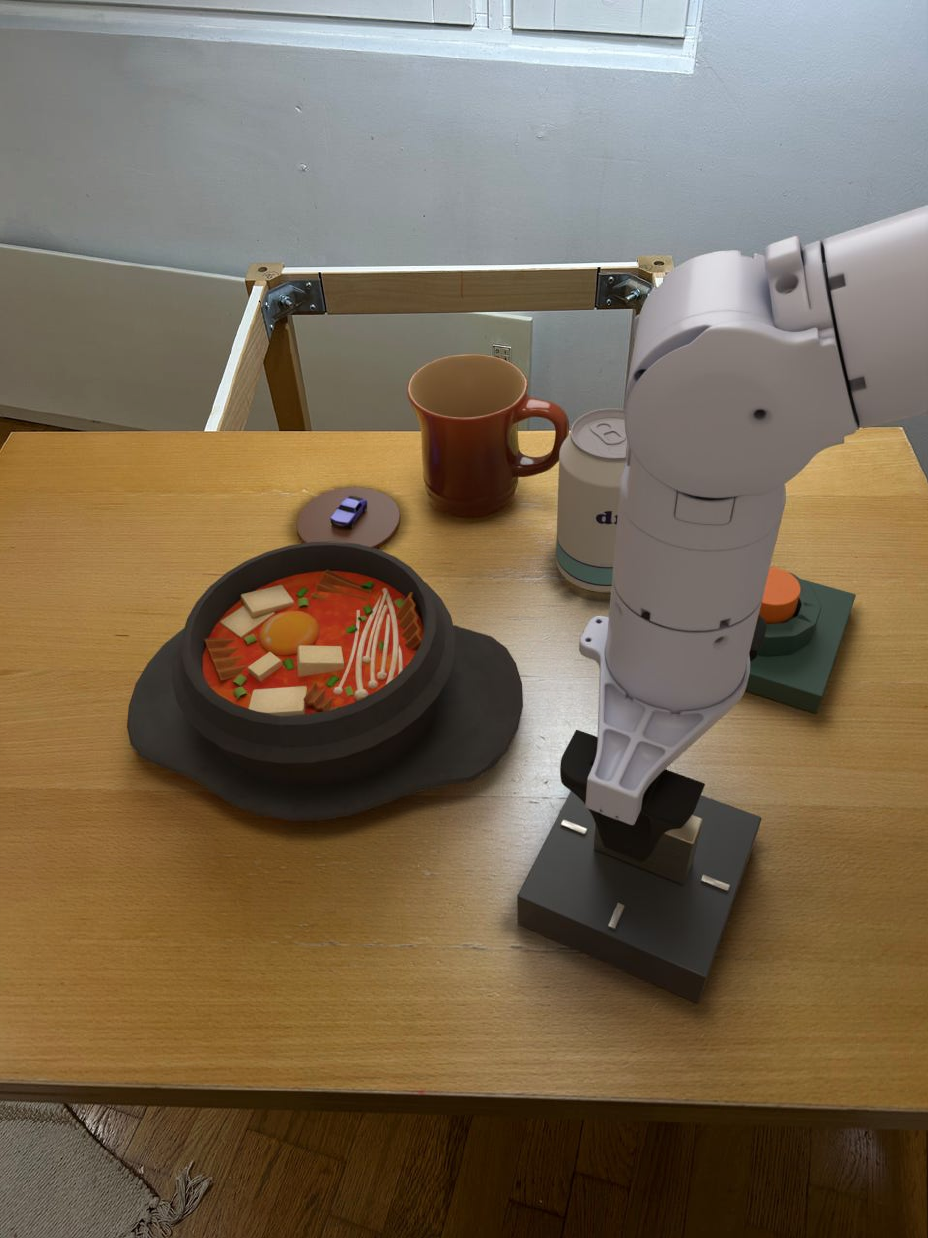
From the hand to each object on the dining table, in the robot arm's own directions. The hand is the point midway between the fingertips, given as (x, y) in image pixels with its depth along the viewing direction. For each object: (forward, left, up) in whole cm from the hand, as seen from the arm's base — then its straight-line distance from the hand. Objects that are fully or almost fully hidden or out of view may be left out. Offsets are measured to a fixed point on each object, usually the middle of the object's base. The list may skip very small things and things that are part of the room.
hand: (653, 785), depth 47 cm
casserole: (+22, -3, -10) cm, 24 cm away
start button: (-1, -21, -6) cm, 22 cm away
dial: (0, 0, -6) cm, 6 cm away
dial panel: (0, 0, -9) cm, 9 cm away
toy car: (+31, -20, -10) cm, 38 cm away
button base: (-1, -21, -9) cm, 23 cm away
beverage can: (+11, -23, -10) cm, 27 cm away
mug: (+22, -27, -10) cm, 36 cm away
